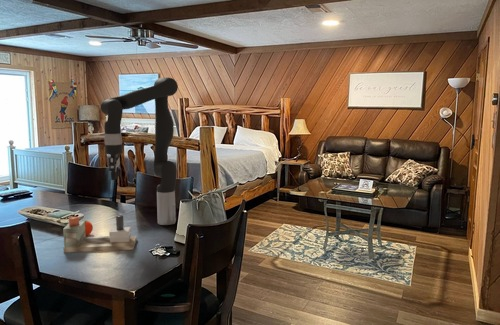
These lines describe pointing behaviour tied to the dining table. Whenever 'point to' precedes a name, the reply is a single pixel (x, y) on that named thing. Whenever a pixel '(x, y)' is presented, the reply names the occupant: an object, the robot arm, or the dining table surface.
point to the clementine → (88, 228)
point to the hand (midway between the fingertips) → (115, 177)
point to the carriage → (120, 231)
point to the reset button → (74, 221)
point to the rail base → (103, 246)
